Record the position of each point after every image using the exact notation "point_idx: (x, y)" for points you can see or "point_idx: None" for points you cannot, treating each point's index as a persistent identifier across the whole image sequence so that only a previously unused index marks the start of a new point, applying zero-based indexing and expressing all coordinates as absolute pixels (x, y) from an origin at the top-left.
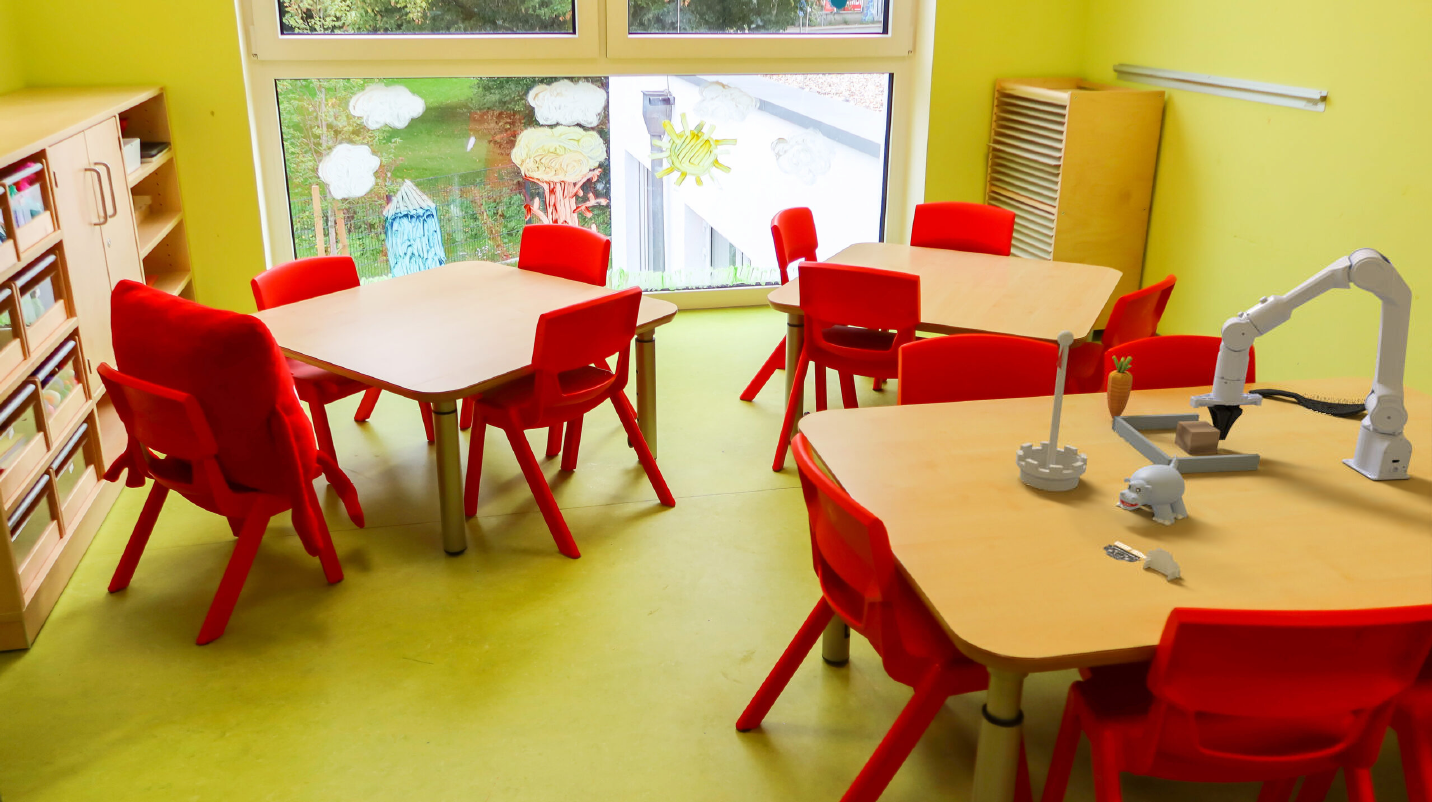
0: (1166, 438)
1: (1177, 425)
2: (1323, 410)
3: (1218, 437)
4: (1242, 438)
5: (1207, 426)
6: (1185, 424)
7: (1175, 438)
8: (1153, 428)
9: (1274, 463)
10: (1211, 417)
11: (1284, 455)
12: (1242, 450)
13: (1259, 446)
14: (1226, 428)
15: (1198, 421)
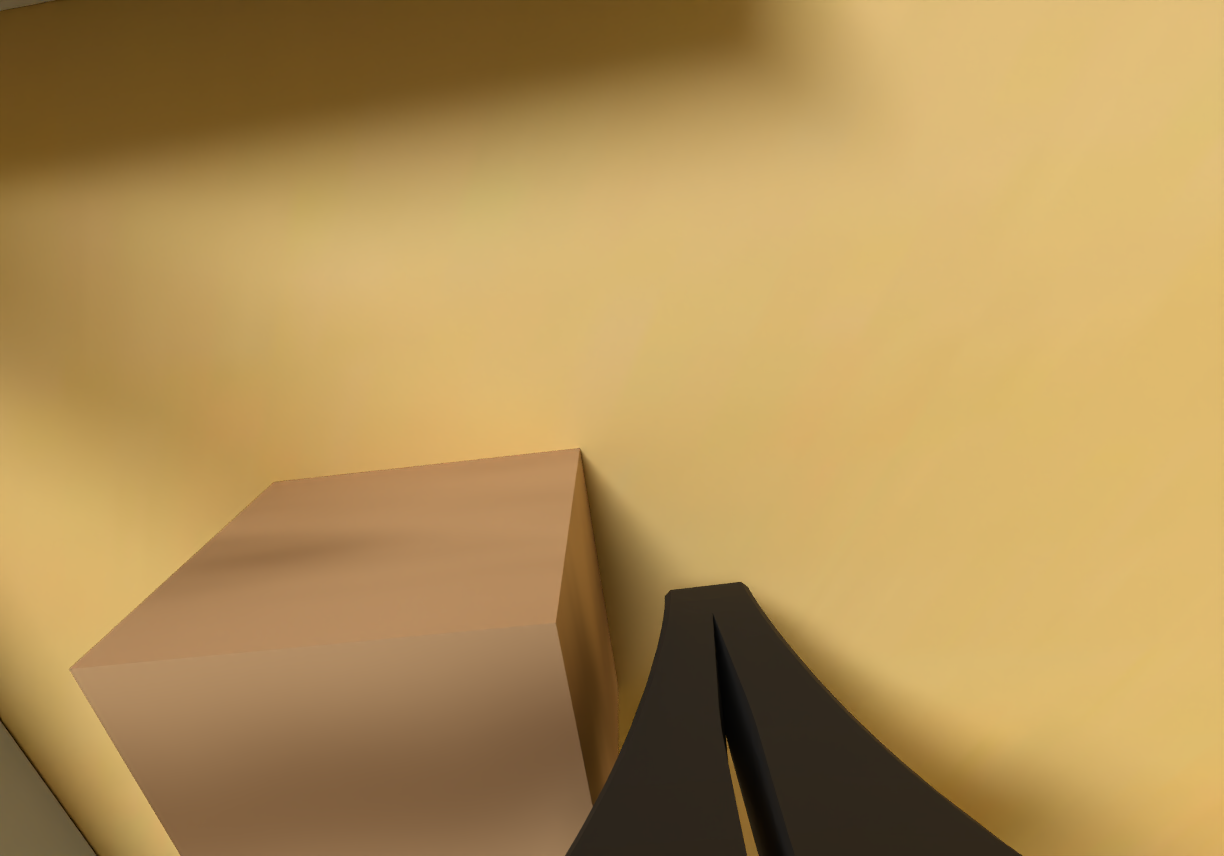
0: (199, 348)
1: (122, 625)
2: None
3: None
4: (1131, 311)
5: (502, 815)
6: (183, 765)
7: (243, 513)
8: (22, 3)
9: (995, 835)
10: (603, 793)
11: (1213, 710)
12: (899, 625)
13: (1146, 532)
14: (758, 848)
15: (421, 652)
